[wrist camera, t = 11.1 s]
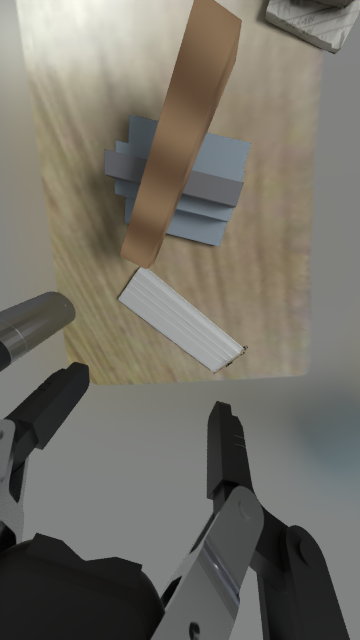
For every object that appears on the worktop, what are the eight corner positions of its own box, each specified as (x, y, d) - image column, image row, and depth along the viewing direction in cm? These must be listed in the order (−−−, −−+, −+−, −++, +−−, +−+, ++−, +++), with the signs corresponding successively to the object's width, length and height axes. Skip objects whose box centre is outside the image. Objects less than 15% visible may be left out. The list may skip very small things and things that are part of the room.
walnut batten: (153, 263, 28) (145, 269, 25) (130, 251, 28) (119, 255, 24) (235, 61, 17) (241, 20, 14) (200, 36, 17) (197, -12, 14)
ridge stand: (219, 245, 34) (221, 251, 26) (128, 222, 34) (104, 222, 26) (248, 148, 27) (264, 116, 19) (134, 121, 27) (104, 79, 19)
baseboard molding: (147, 258, 37) (120, 297, 43) (142, 260, 35) (115, 301, 40) (247, 343, 44) (213, 368, 49) (250, 350, 41) (213, 375, 46)
